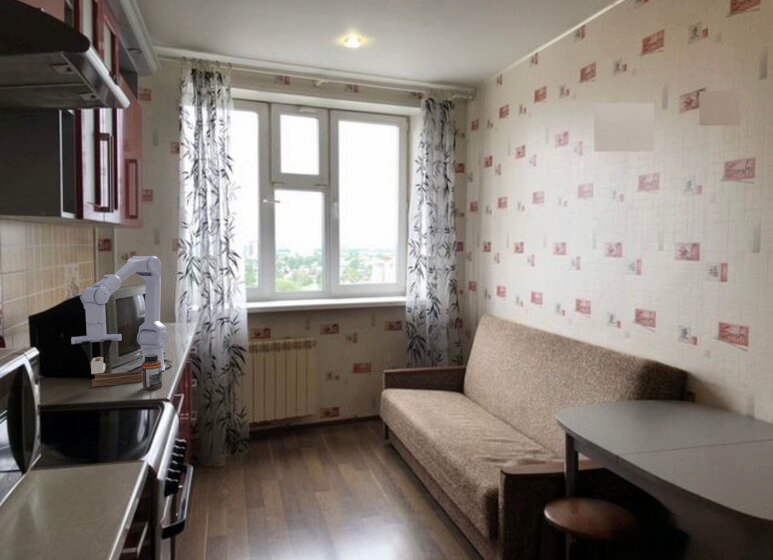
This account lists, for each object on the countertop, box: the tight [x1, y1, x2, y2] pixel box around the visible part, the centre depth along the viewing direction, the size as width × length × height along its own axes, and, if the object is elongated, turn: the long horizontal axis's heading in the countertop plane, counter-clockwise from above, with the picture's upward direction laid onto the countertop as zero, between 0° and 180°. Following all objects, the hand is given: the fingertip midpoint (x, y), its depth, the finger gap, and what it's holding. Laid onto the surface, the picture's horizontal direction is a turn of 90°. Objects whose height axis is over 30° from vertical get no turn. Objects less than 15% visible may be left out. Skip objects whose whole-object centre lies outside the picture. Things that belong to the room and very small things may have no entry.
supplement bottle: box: [141, 354, 163, 391], centre depth 172 cm, size 6×6×11 cm
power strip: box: [90, 356, 106, 375], centre depth 170 cm, size 3×6×4 cm, turn 23°
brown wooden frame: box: [91, 370, 143, 388], centre depth 180 cm, size 7×16×2 cm, turn 113°
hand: (98, 363), depth 170 cm, fingers closed on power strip, 3 cm apart
